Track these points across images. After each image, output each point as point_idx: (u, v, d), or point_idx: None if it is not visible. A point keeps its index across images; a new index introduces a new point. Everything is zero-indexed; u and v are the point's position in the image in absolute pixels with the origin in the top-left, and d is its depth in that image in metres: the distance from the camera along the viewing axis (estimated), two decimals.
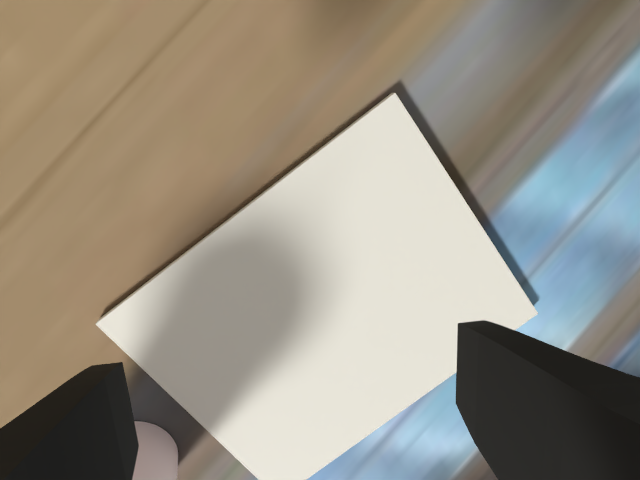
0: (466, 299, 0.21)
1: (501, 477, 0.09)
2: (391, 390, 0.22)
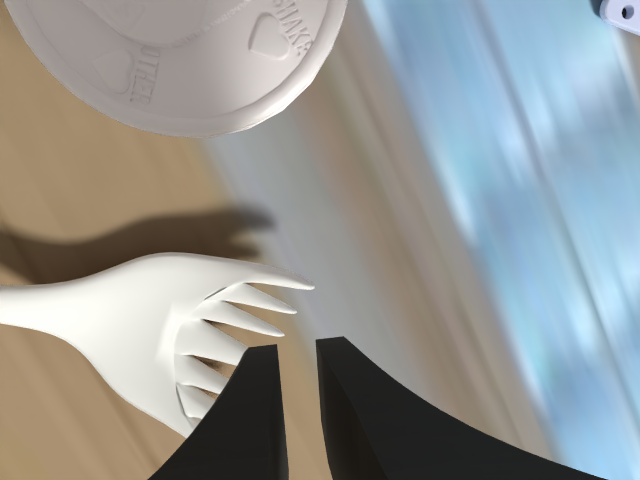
0: None
1: None
2: None
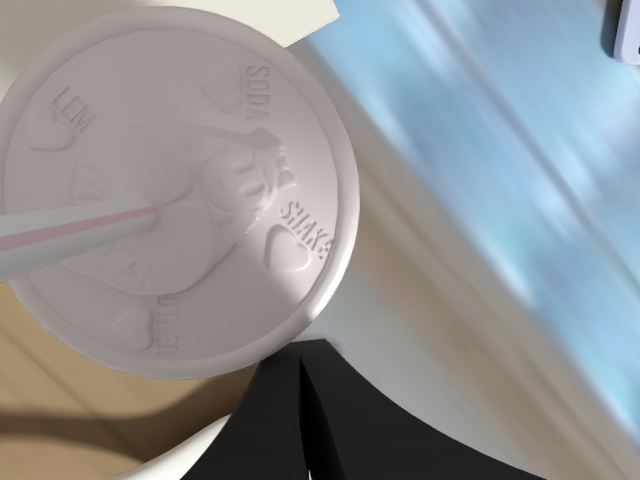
0: None
1: None
2: None
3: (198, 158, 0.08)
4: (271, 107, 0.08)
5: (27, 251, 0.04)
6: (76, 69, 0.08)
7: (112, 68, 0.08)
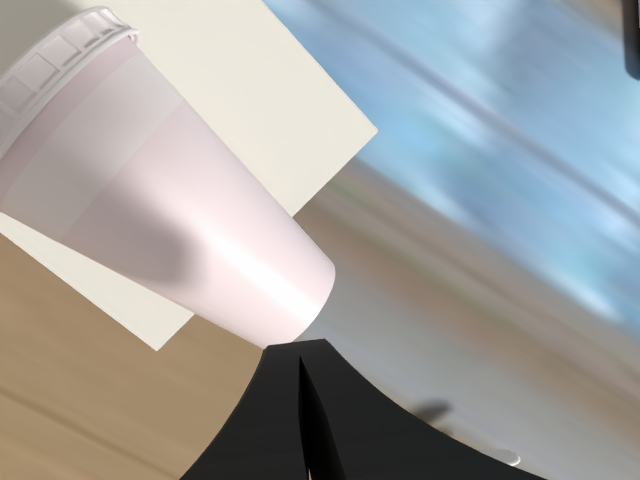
0: None
1: None
2: None
3: None
4: None
5: None
6: None
7: None
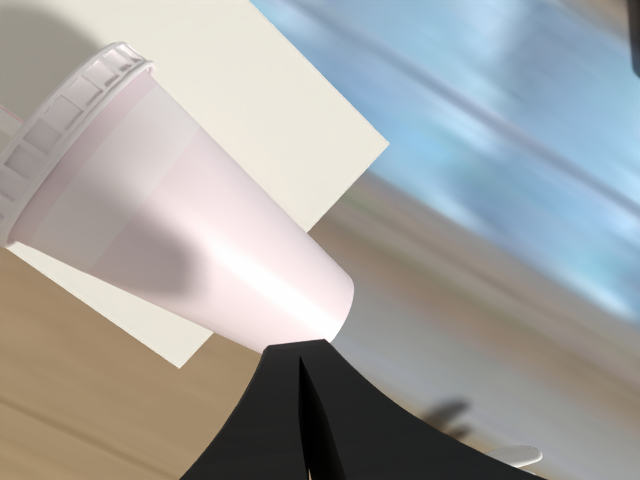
0: None
1: None
2: (207, 13, 0.16)
3: None
4: None
5: None
6: None
7: None
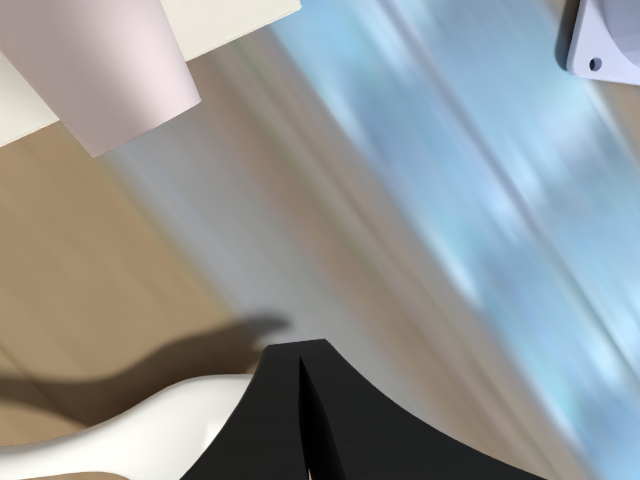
0: None
1: None
2: None
3: None
4: None
5: None
6: None
7: None
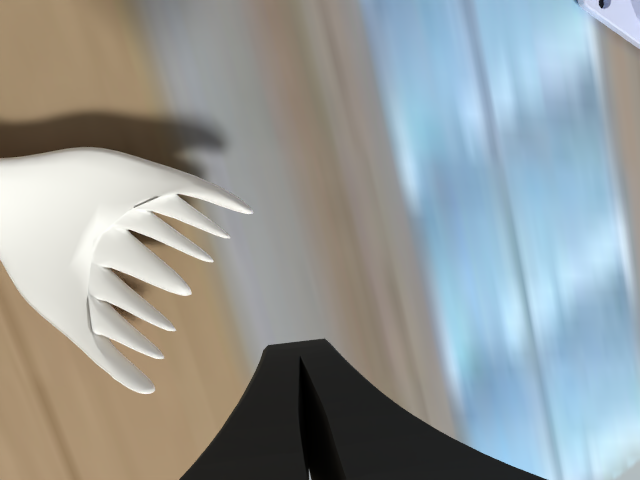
0: None
1: None
2: None
3: None
4: None
5: None
6: None
7: None
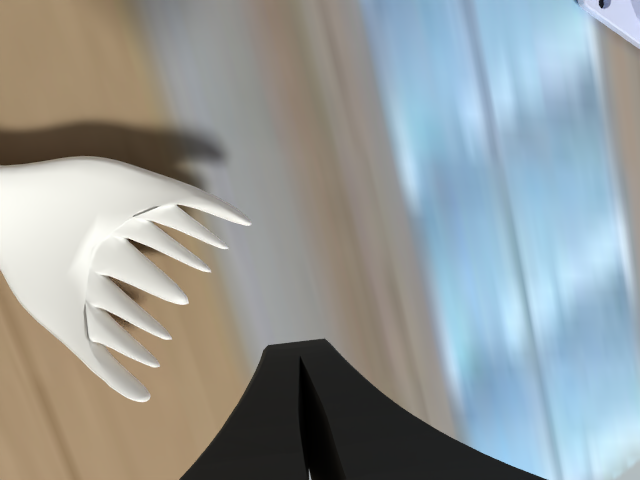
0: None
1: None
2: None
3: None
4: None
5: None
6: None
7: None
